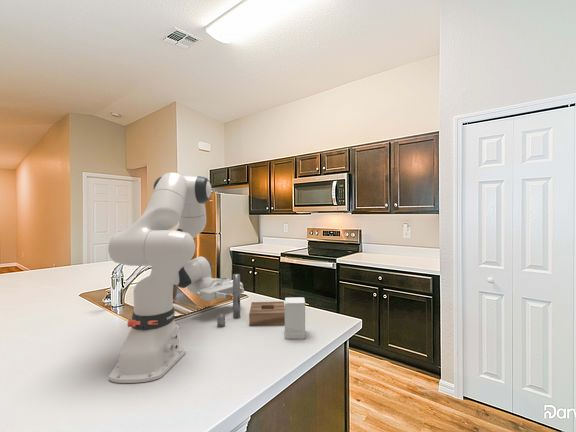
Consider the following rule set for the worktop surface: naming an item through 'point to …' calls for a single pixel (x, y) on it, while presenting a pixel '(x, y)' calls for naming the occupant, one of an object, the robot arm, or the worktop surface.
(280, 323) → the collar block
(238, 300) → the long pin
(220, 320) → the short pin
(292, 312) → the supplement box
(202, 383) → the worktop surface
